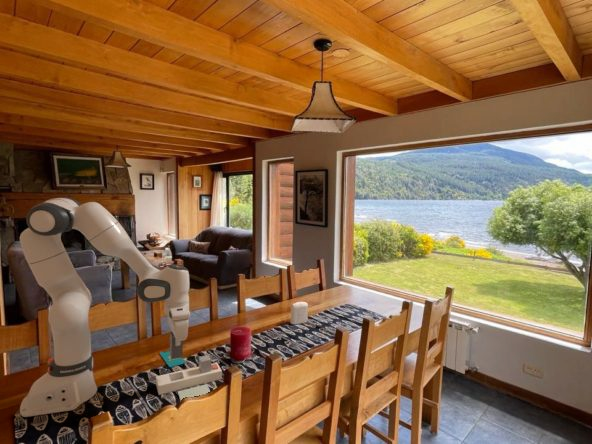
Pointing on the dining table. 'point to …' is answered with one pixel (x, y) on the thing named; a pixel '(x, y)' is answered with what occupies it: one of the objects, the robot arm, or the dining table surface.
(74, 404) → the robot arm
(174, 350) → the block
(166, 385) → the power strip
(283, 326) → the dining table surface
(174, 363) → the teal passport
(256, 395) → the dining table surface
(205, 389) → the mat
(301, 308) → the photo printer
